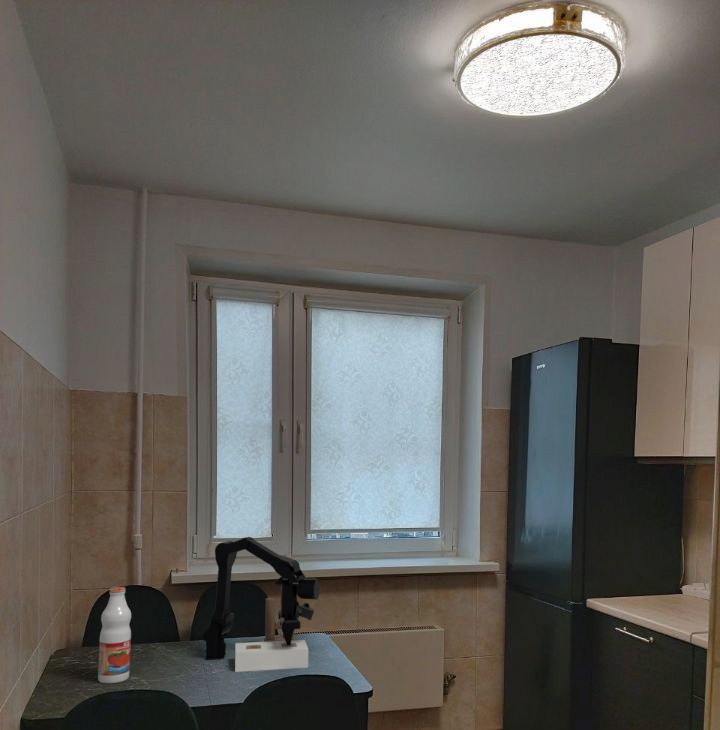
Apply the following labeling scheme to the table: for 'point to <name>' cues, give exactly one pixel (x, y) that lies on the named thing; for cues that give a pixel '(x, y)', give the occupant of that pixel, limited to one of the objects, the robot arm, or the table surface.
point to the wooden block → (272, 622)
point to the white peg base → (270, 656)
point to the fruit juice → (115, 639)
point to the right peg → (289, 645)
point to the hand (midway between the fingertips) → (288, 645)
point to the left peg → (253, 647)
